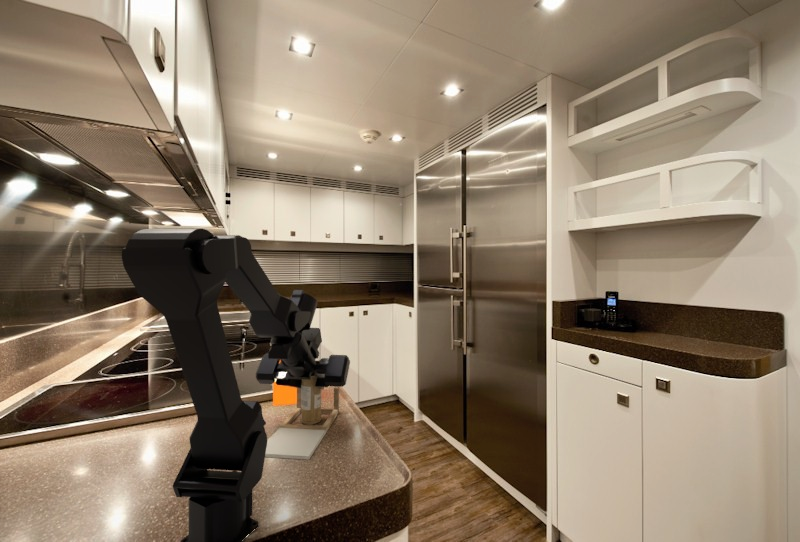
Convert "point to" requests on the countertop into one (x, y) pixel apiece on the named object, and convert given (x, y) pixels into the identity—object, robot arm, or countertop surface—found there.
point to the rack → (332, 412)
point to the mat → (294, 443)
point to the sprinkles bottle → (310, 401)
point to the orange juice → (284, 394)
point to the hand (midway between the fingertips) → (313, 387)
